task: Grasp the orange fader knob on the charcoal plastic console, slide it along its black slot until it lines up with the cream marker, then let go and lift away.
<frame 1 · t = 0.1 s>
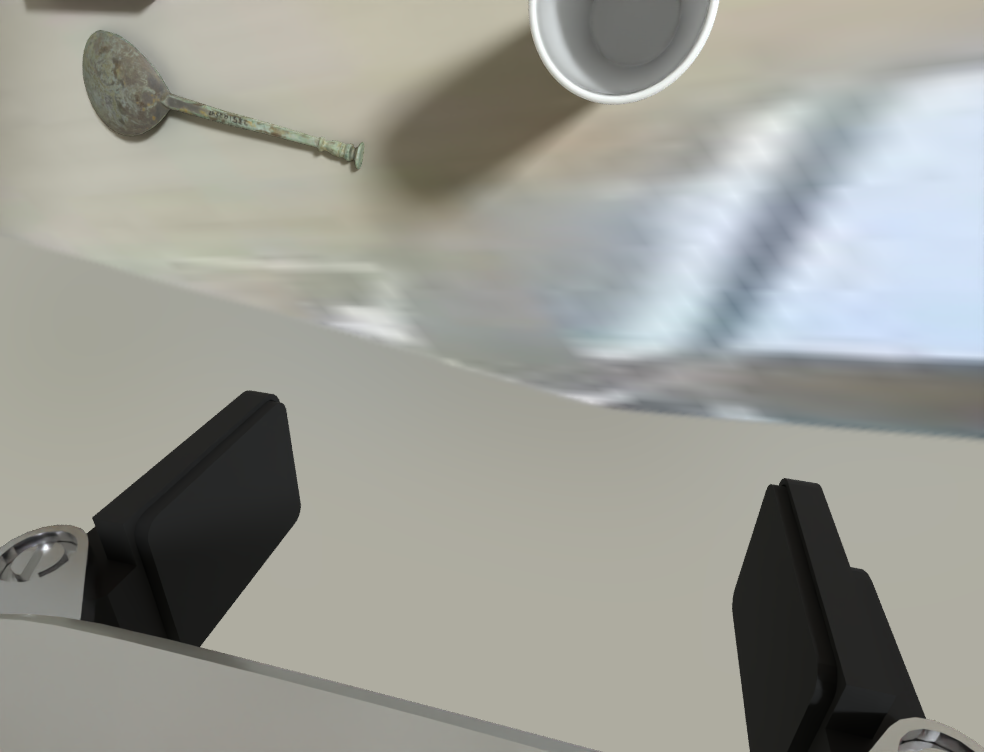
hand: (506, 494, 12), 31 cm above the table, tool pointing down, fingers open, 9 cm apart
soupspoon: (225, 112, 43), on the table
drinking glass: (635, 18, 34), on the table
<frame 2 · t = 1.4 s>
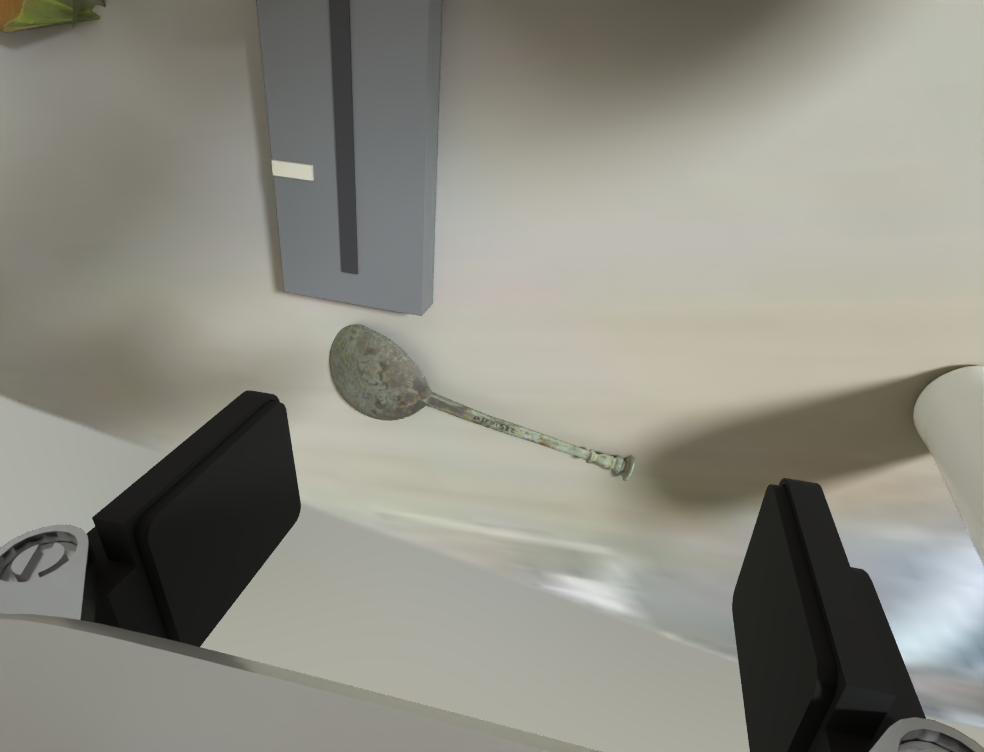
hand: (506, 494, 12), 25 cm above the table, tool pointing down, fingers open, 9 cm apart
soupspoon: (478, 402, 42), on the table
drinking glass: (964, 402, 33), on the table
fader console: (360, 94, 33), on the table
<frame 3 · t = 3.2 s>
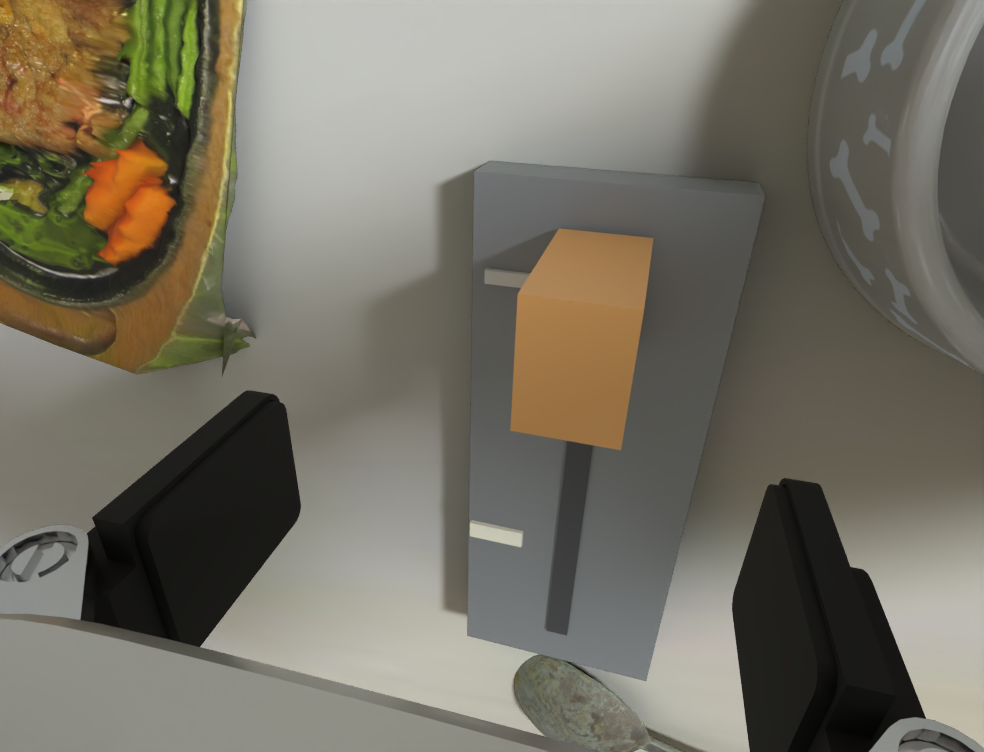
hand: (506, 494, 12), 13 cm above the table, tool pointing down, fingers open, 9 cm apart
soupspoon: (699, 734, 34), on the table
fader console: (583, 446, 26), on the table
fader knob: (586, 327, 18), point 5 cm above the table, slide at 0.0 cm
prepared meal: (60, 9, 24), on the table
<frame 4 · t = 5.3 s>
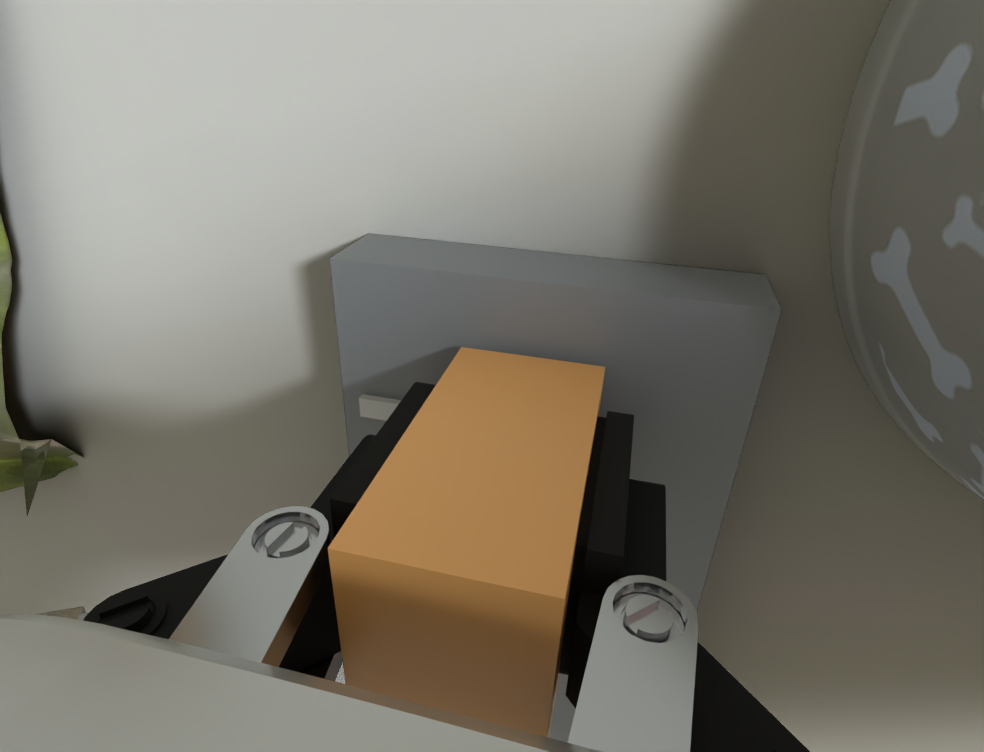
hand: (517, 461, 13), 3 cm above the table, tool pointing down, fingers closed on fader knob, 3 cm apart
fader console: (524, 606, 19), on the table
fader knob: (494, 529, 11), point 5 cm above the table, slide at 0.0 cm, touching gripper
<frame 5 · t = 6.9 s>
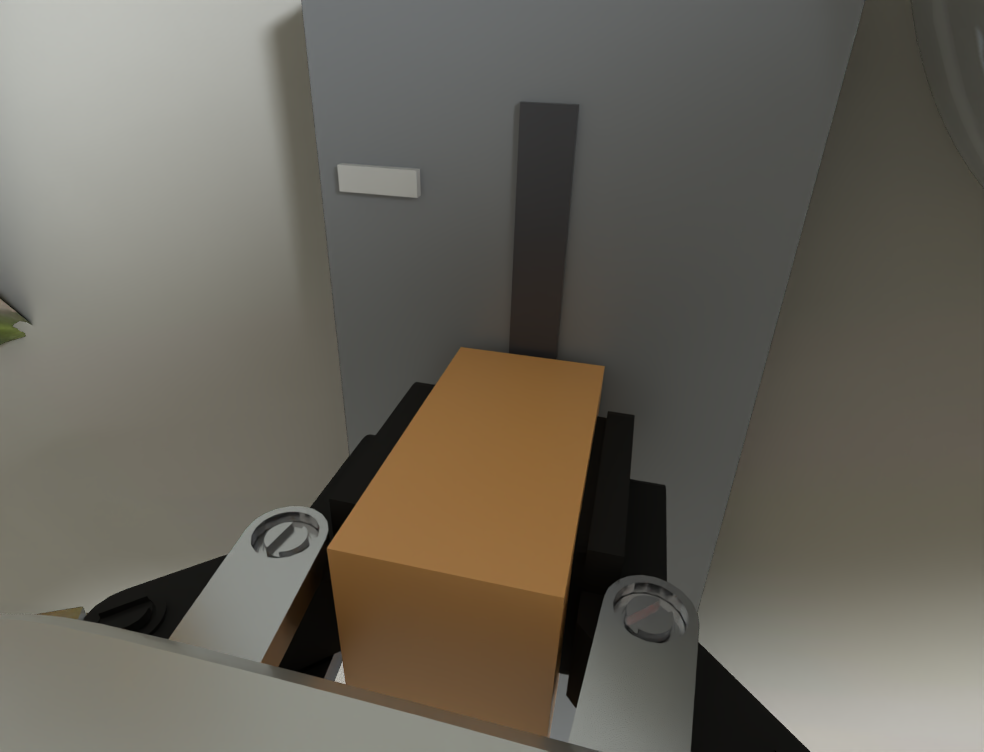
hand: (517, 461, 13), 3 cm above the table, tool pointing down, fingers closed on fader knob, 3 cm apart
fader console: (536, 474, 17), on the table
fader knob: (494, 529, 11), point 5 cm above the table, slide at 5.2 cm, touching gripper
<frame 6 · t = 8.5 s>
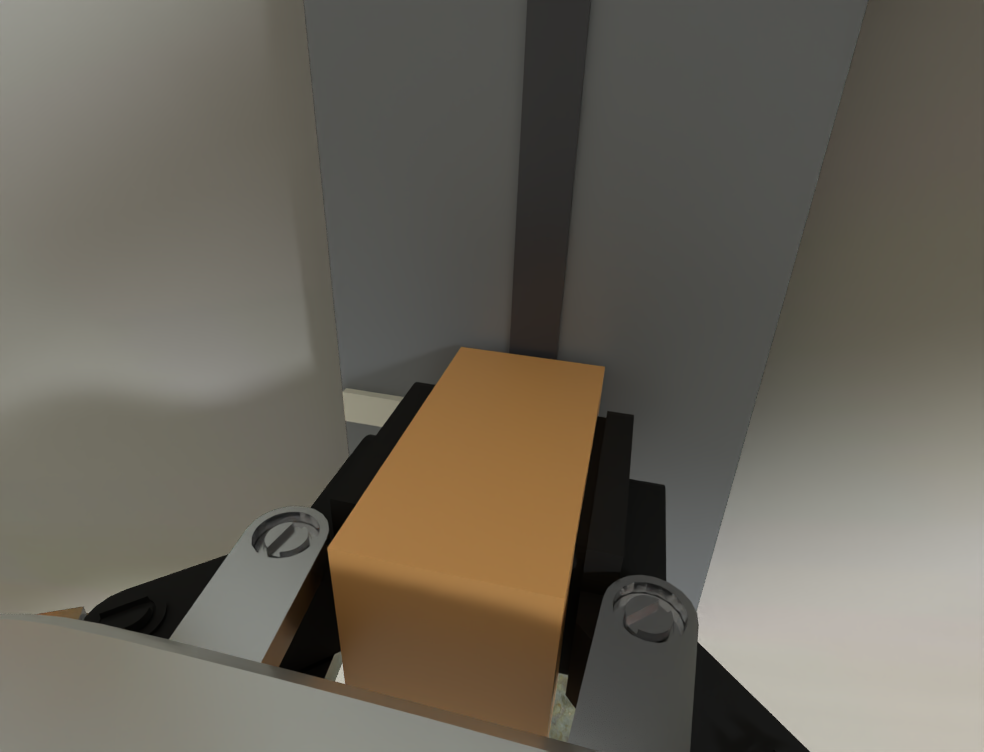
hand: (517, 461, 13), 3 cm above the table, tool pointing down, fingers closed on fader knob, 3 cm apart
fader console: (555, 233, 14), on the table
fader knob: (493, 529, 11), point 5 cm above the table, slide at 11.9 cm, touching gripper
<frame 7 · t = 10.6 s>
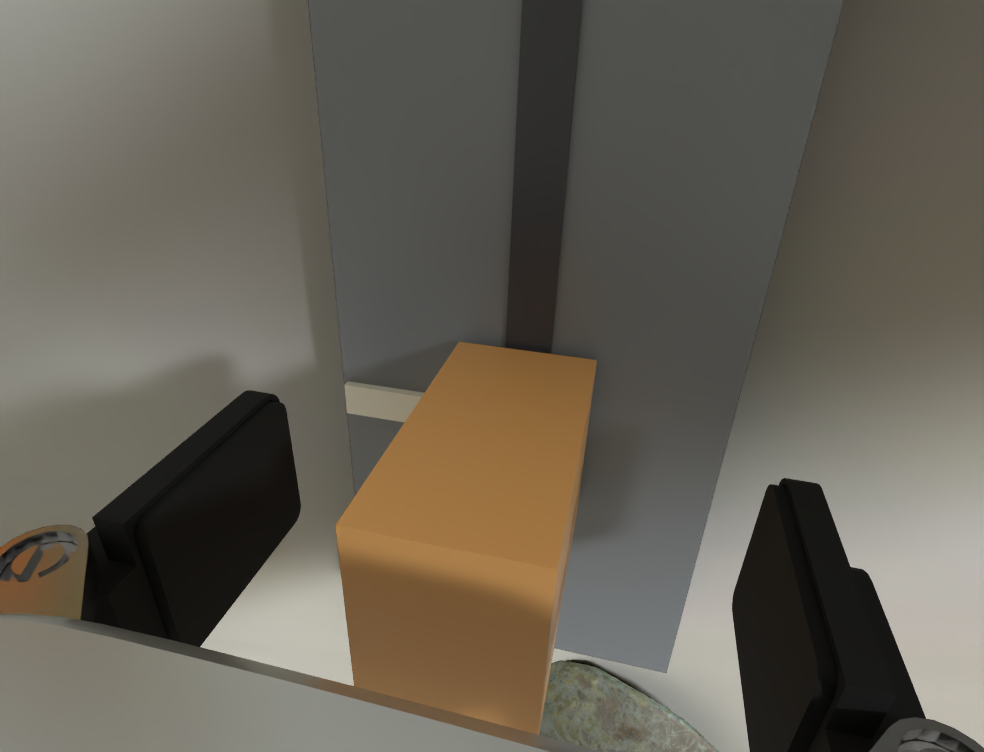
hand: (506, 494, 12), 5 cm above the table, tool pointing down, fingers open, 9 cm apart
fader console: (549, 231, 14), on the table
fader knob: (490, 514, 11), point 5 cm above the table, slide at 12.0 cm
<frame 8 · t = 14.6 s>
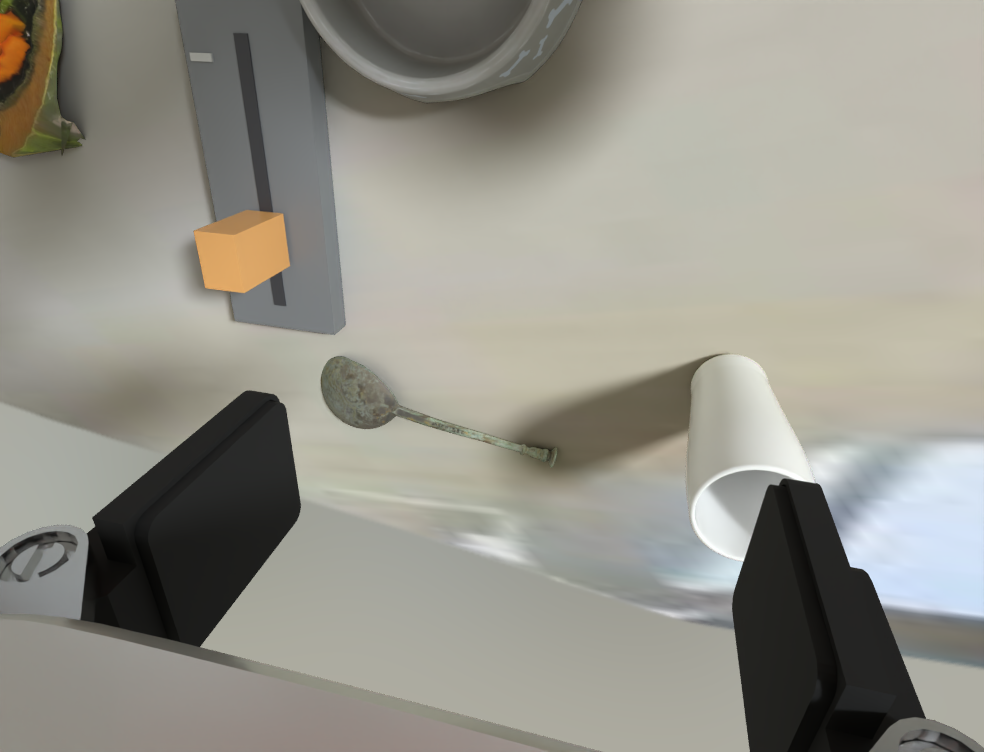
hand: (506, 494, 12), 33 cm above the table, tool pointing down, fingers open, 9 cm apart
soupspoon: (437, 412, 53), on the table
drinking glass: (727, 382, 45), on the table
fader console: (277, 178, 46), on the table
fader knob: (245, 249, 43), point 5 cm above the table, slide at 12.0 cm
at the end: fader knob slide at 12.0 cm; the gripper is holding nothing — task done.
